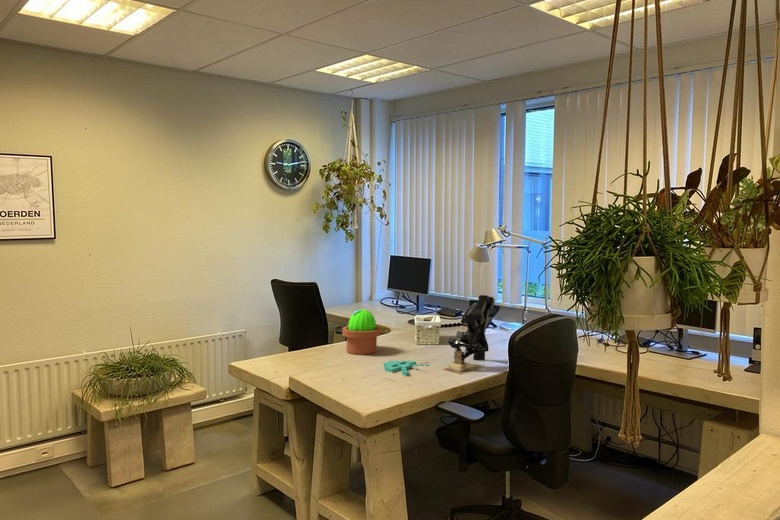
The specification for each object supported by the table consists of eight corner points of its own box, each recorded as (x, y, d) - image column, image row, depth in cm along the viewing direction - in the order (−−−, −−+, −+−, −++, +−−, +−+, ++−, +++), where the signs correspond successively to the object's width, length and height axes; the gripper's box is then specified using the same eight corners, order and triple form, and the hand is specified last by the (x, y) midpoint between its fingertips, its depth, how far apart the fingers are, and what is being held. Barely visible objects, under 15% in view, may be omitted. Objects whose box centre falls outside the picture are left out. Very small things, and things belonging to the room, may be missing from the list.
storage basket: (414, 336, 372) (414, 314, 371) (439, 337, 371) (439, 314, 370) (414, 345, 348) (414, 321, 347) (441, 345, 347) (441, 321, 346)
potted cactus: (381, 347, 342) (381, 305, 340) (379, 356, 320) (379, 312, 318) (344, 346, 342) (344, 305, 340) (340, 355, 320) (340, 311, 318)
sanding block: (458, 366, 295) (458, 349, 294) (469, 369, 290) (470, 351, 289) (448, 369, 289) (449, 351, 288) (460, 372, 284) (460, 354, 284)
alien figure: (429, 368, 297) (399, 362, 310) (429, 364, 297) (399, 358, 310) (406, 377, 282) (375, 369, 294) (406, 372, 282) (375, 365, 294)
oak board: (462, 365, 302) (463, 362, 302) (482, 370, 294) (482, 367, 294) (441, 372, 289) (441, 369, 289) (461, 377, 281) (461, 374, 281)
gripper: (450, 322, 297) (436, 346, 290) (480, 327, 284) (466, 353, 277) (458, 334, 303) (445, 359, 296) (488, 340, 290) (475, 366, 283)
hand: (457, 359), depth 288 cm, fingers closed on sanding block, 4 cm apart
